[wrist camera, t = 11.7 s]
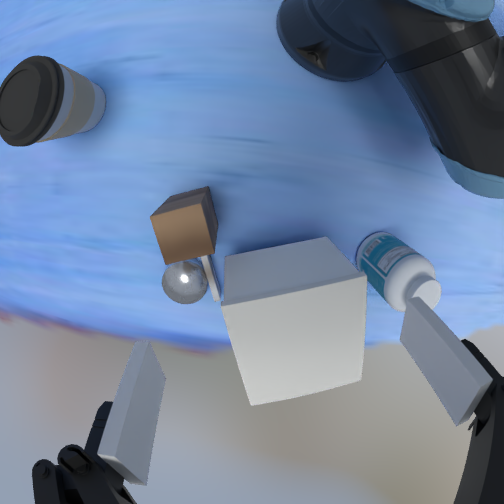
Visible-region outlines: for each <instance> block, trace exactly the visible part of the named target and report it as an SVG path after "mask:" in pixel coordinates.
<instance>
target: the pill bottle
mask: <svg viewBox="0 0 504 504" xmlns="http://www.w3.org/2000/svg"><path fill="white" fill-rule="evenodd" d="M356 262H357V267H358V270H359V271H360V272H364V273H365V274H366V275H367V281H368V282H369V283H370V284H371V285H372V286H373V287H374V288H375V289H376V291H377V292H378V293H379V294H380V295H381V296H382V297H383V298H384V300H385V301H386V302H387V303H388V304H389V305H390V306H391V307H392V308H393V309H395V310H397V311H400V312H405V310H406V304H407V299H410V298H414V297H418V296H419V297H420V298H421V299H422V300H423V301H424V302H425V303H426V304H427V305H428V306H429V307H430V308H431V309H432V310H433V309H434V307H435V306H436V305H437V303H438V301H439V299H440V296H441V285H440V284H439V282H438V281H437V280H435V279H436V276H435V270H434V267H433V265H432V264H431V262H430V261H429V260H428V259H426V258H425V257H424V256H422V255H421V254H419V253H418V252H416V251H415V250H414V249H412V248H411V247H409V246H408V245H406V244H405V243H403V242H402V241H400V240H399V239H397V238H395V237H394V236H392V235H391V234H388V233H385V232H379V233H375V234H372V235H371V236H369V237H368V238H366V239H365V240H364V241H363V243H362V244H361V246H360V247H359V250H358V253H357V258H356Z"/></svg>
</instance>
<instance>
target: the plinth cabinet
mask: <svg viewBox="0 0 504 504" xmlns="http://www.w3.org/2000/svg"><path fill="white" fill-rule="evenodd" d="M366 303H367V275H366V274H365V273H364V272H359V271H358V270H357V269H356V268H355V266H354V265H353V264H352V263H351V262H350V261H349V260H348V259H347V258H346V257H345V256H344V254H343V253H342V252H341V251H340V250H339V249H338V248H337V247H336V246H335V245H334V244H333V243H332V242H331V241H330V239H329V238H328V237H327V236H326V237H321V238H316V239H311V240H306V241H301V242H296V243H291V244H286V245H280V246H275V247H270V248H265V249H260V250H255V251H250V252H245V253H240V254H235V255H230V256H225V268H224V301H221V309H222V313H223V316H224V320H225V323H226V327H227V330H228V333H229V337H230V340H231V344H232V347H233V350H234V354H235V357H236V360H237V364H238V367H239V370H240V373H241V376H242V380H243V383H244V386H245V389H246V392H247V395H248V398H249V401H250V405H251V406H252V405H258V404H264V403H270V402H274V401H280V400H285V399H290V398H295V397H299V396H303V395H308V394H312V393H316V392H320V391H324V390H328V389H332V388H336V387H339V386H342V385H346V384H350V383H353V382H356V381H360V380H361V376H362V366H363V355H364V342H365V326H366Z"/></svg>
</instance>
